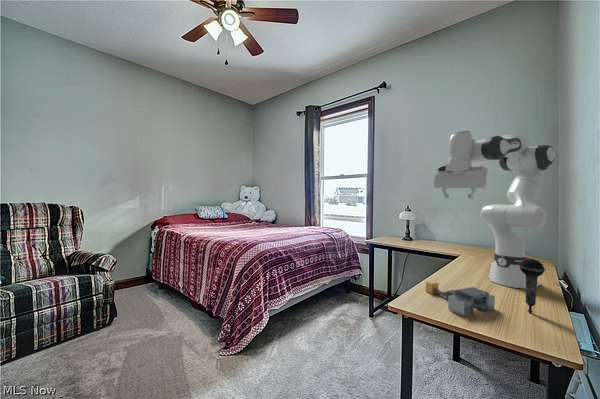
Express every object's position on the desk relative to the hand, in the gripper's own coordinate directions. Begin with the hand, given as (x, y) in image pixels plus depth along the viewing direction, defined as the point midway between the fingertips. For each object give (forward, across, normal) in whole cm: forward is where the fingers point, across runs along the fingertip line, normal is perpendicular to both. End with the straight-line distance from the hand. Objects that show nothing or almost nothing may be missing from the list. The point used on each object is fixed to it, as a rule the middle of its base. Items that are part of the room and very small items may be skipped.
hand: (458, 198), depth 110 cm
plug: (+42, 0, +12) cm, 44 cm away
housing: (+42, -11, +16) cm, 46 cm away
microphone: (+42, -25, +2) cm, 49 cm away
